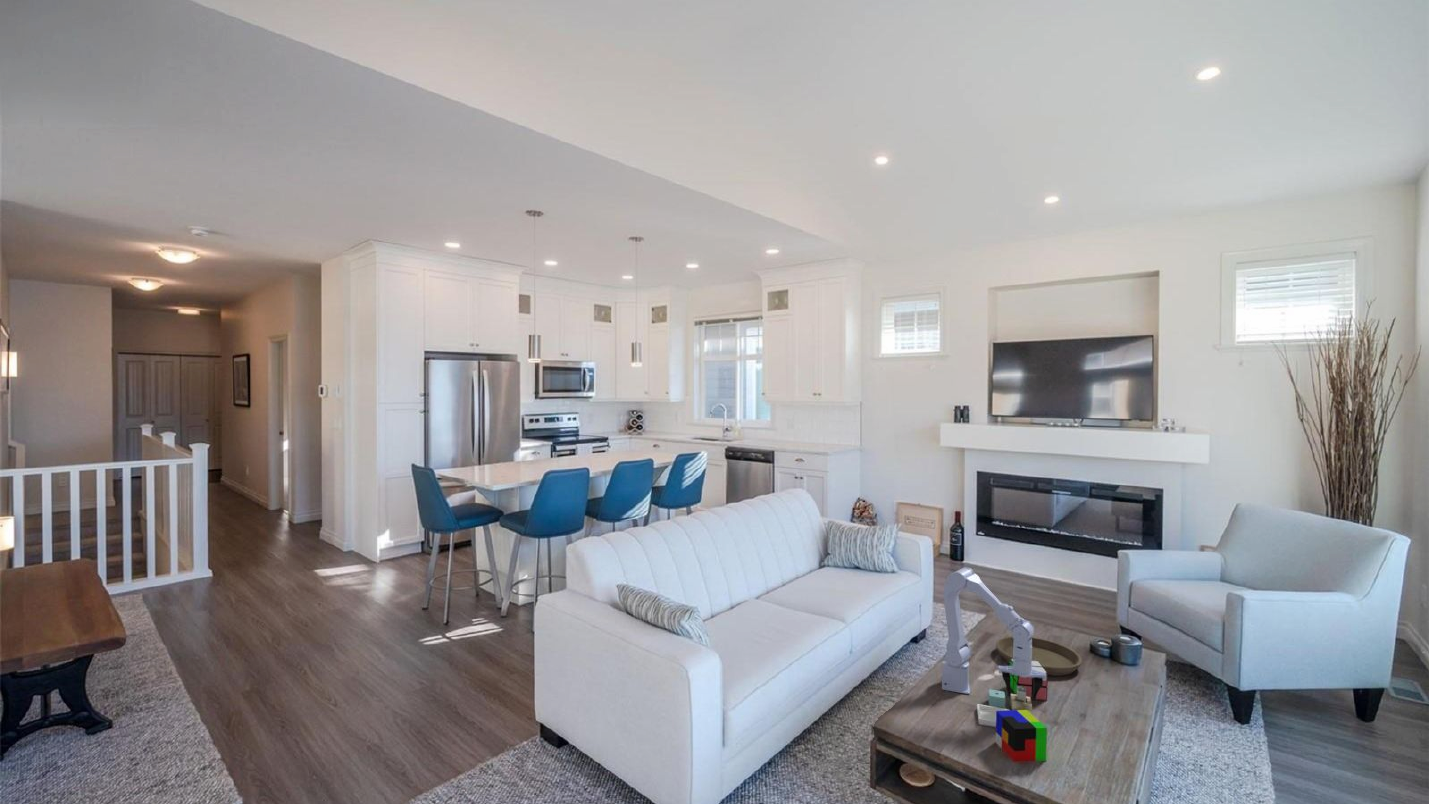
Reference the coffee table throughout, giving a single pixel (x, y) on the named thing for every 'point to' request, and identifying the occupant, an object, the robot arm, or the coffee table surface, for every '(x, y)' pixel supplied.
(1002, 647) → the plant saucer
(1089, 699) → the coffee table surface
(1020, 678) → the puzzle cube
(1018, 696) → the brushed steel block
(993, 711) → the tray
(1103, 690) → the coffee table surface
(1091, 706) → the coffee table surface
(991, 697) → the teal block
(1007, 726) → the puzzle toy
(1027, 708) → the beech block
